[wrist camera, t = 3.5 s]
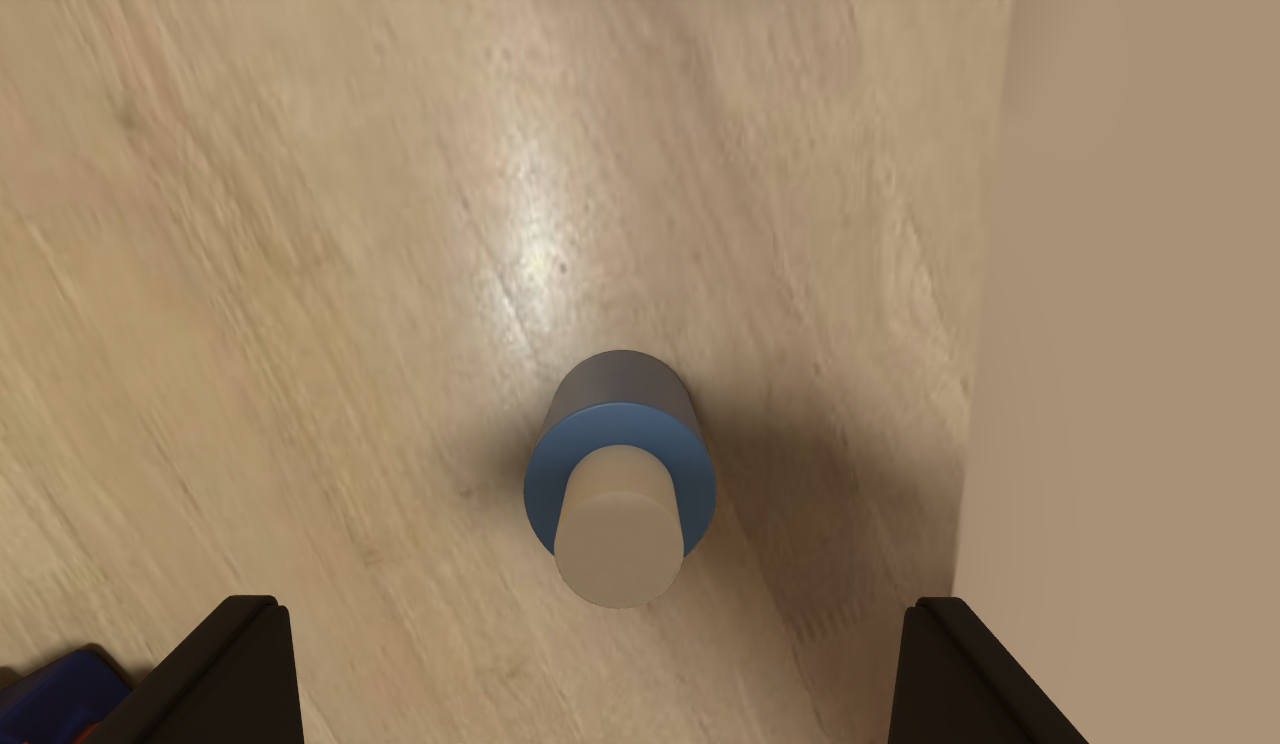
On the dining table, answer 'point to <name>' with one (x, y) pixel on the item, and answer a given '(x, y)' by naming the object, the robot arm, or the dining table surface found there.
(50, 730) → the decorative cube
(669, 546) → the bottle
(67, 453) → the dining table surface
